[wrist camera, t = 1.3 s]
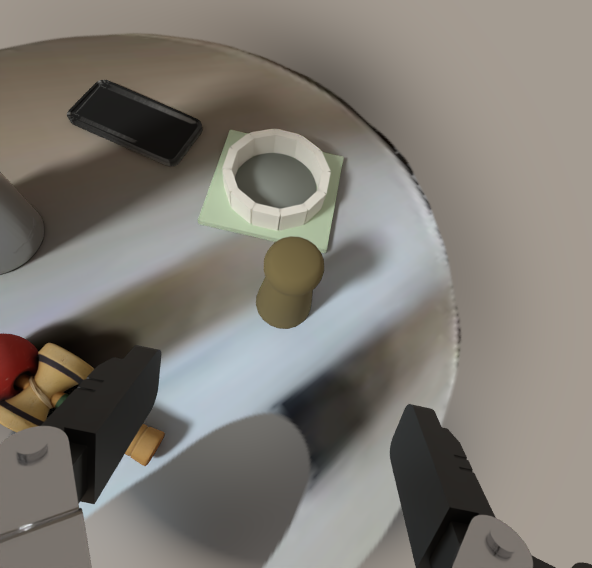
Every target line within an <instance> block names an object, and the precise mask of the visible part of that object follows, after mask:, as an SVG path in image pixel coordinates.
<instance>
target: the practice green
mask: <svg viewBox="0 0 592 568" xmlns="http://www.w3.org/2000/svg"><path fill="white" fill-rule="evenodd" d="M342 163H343V157H341V156H337V155H333V154H329V153H325V152H322V151H320V149H319V148H318V147H317V146H315V145H314V144H313V143H311V142H310V141H309V140H307V139H306V138H305V137H303V136H302V135H301V136H300V134H296V133H292V132H288V131H284V130H280V129H276V130H275V129H274V128H273V129H267V130H261V131H255V132H250V134H249V133H248V134H247V133H243V132H239V131H235V130H230V131H229V134H228V137H227V139H226V142H225V145H224V148H223V151H222V153H221V156H220V159H219V162H218V165H217V168H216V170H215V173H214V176H213V179H212V182H211V185H210V187H209V190H208V193H207V196H206V199H205V202H204V204H203V207H202V210H201V213H200V216H199V218H198V223H199V224H201V225H205V226H210V227H214V228H218V229H223V230H227V231H231V232H235V233H240V234H244V235H248V236H253V237H257V238H261V239H266V240H270V241H274V242H276V241H278V240H280V239H282V238H285V237H290V236H293V237H301V238H304V239H307V240H309V241H310V242H312V243H313V244H315V245H316V247H317V248H318V249H319V250H320V252H321V253H326V250H327V245H328V240H329V234H330V229H331V223H332V218H333V212H334V207H335V201H336V196H337V190H338V185H339V179H340V174H341V168H342Z"/></svg>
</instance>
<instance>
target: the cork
mask: <svg viewBox="0 0 592 568" xmlns="http://www.w3.org/2000/svg"><path fill="white" fill-rule="evenodd" d="M264 273H265V276H266V277H265V279H264V281H263V283H262V285H261V287H260V289H259V292H258V294H257V297H256V306H257V310H258V313H259V314H260V316H261V317H262V319H263V320H264V321H265V322H267V323H268V324H269V325H271V326H274V327H276V328H283V329H288V328H292V327H296V326H297V325H299V324H301V323H302V322H303V321H304V320H305V319H306V317H307V316H308V315H309V312H310V309H311V302H312V292H313V289H315V287H316V286H317V285H318V284H319V282H320V281H321V279H322V276H323V273H324V259H323V257H322V254H321V252H320V250H319V249H318V248H317V247H316V245H315V244H313V243H312V242H310V241H309V240H307V239H304V238H301V237H293V236H290V237H285V238H282V239H280V240H278V241H276V242H275V243H274V244H273V245H272V246H271V247H270V248H269V250H268V251H267V253H266V256H265V258H264Z"/></svg>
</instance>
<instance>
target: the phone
mask: <svg viewBox="0 0 592 568" xmlns="http://www.w3.org/2000/svg"><path fill="white" fill-rule="evenodd" d="M67 117H68V118H69V120H70V122H71V123H72V124H73V125H75V126H78V127H80V128H82V129H84V130H87V131H89V132H91V133H94V134H96V135H98V136H100V137H103V138H105V139H107V140H110V141H112V142H114V143H116V144H119V145H121V146H123V147H125V148H128V149H130V150H132V151H135V152H137V153H139V154H141V155H144V156H146V157H148V158H150V159H153V160H155V161H157V162H160V163H162V164H164V165H167V166H175V165H177V164H178V163H179V162H180V161H181V160H182V158H183V157H184V156H185V154H186V153H187V151H188V150H189V149H190V147H191V146H192V145H193V143H194V142H195V141H196V139H197V138H198V136H199V135H200V134H201V132H202V124H201V122H200V121H199V120H198V119H196V118H194V117H192V116H189V115H187V114H185V113H182V112H180V111H178V110H175V109H173V108H171V107H168V106H166V105H164V104H162V103H159V102H157V101H155V100H152V99H150V98H148V97H145V96H143V95H141V94H138V93H136V92H134V91H131V90H129V89H127V88H125V87H122V86H120V85H118V84H115V83H113V82H111V81H108V80H100V81H98V82H96V83H95V84H94V85H93V86H92V87H91V88H90V89H89V90H88V91H87V92H86V93H85V94H84V95H83V96H82V97H81V98H80V99H79V100H78V101H77V102H76V104H75V105H74V106H73V107H72V108H71V109H70V110H69V111H68V112H67ZM188 147H189V148H188ZM187 148H188V149H187ZM181 157H182V158H181Z"/></svg>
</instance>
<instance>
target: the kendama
mask: <svg viewBox="0 0 592 568" xmlns="http://www.w3.org/2000/svg"><path fill="white" fill-rule="evenodd" d="M93 370H94V368H93V367H92V366H90V365H89V364H88V363H86V362H85V361H83V360H82V359H80V358H79V357H77V356H76V355H74V354H72V353H71V352H69V351H67V350H65V349H63V348H61V347H60V346H58V345H55V344H53V343H47V344H46V345H45V346H44V347H43V348H42V349H41V350H40V351H39V352H38V350H37V349H36V347H35V346H34V345H33V344H32V343H31V342H29V341H28V340H26V339H24V338H22V337H20V336H17V335H12V334H0V424H2V425H3V426H5V427H7V428H9V429H11V430H13V431H15V432H19V431H21V430H24V429H27V428H31V427H36V426H41V425H42V423H43V422H44V421H45V420H46V419H47V415H48V412H49V409H51V408H56V409H57V408H58V407H59V406H60V405H61V404H62V403H63V401H64V400H65V399H66V398H67V397H68V396H69V394H67V393H64V391H66V390H67V389H69V388H71V387H73V386H75V385H78V384H81V383H82V382H83V380H84V379H87V376H88V375H89V374H90V373H91V372H92V371H93ZM164 435H165V433H164V432H163V431H160V430H157V429H155V428H152V427H148V426H147V425H145V424H142V426H141V427H140V429H139V431H138V432H137V434H136V436H135V437H134V439H133V441H132V442H131V444H130V446H129V447H128V449H127V451H126V452H125V454H126V455H128V456H131V458H133V459H134V460H136V461H137V462H139V463H140V464H142V465H144V466H146V465H147V464H148V463H149V462H150V460H151V458H152V457H153V455H154V454H155V452H156V450H157V448H158V447H159V445H160V443H161V441H162V440H163V438H164Z"/></svg>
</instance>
